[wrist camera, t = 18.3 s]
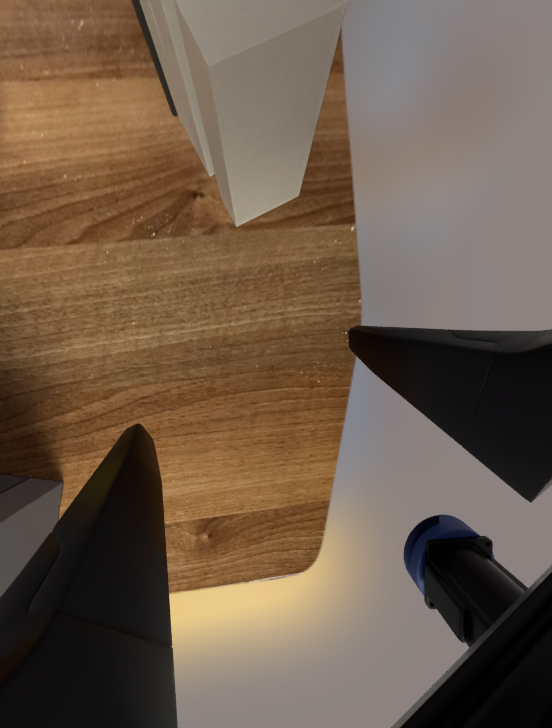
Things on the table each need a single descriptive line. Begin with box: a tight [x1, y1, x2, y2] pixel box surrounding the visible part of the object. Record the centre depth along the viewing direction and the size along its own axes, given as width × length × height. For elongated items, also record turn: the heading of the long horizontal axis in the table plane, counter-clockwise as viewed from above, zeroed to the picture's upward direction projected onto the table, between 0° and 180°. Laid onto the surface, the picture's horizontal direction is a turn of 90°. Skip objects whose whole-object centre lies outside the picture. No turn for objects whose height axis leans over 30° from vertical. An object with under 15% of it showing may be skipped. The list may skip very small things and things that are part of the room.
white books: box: [131, 0, 215, 177], centre depth 15 cm, size 6×7×13 cm
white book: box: [174, 0, 347, 227], centre depth 16 cm, size 3×6×12 cm, turn 118°
